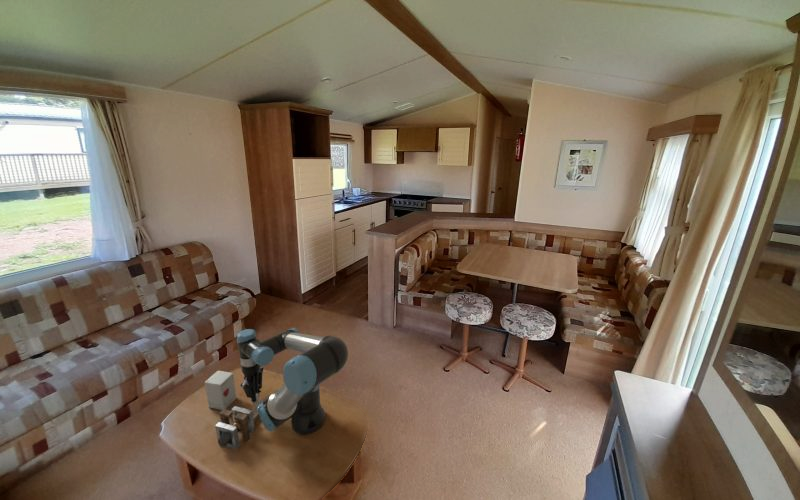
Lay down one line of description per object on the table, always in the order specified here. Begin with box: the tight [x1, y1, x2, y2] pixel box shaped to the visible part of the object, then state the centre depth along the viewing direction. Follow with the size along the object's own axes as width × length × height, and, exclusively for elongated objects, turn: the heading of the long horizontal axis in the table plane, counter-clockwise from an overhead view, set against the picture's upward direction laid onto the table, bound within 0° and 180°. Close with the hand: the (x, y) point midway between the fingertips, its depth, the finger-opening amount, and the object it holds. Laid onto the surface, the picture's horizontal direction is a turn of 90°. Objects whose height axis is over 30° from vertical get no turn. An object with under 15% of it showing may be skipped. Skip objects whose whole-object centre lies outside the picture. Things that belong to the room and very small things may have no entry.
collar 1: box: [214, 421, 241, 451], centre depth 133 cm, size 9×2×10 cm, turn 75°
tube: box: [217, 413, 253, 448], centre depth 137 cm, size 16×4×4 cm, turn 165°
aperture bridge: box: [219, 408, 251, 443], centre depth 137 cm, size 12×2×12 cm, turn 75°
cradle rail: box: [252, 394, 271, 424], centre depth 152 cm, size 4×15×3 cm, turn 165°
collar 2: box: [230, 405, 256, 434], centre depth 141 cm, size 9×2×10 cm, turn 75°
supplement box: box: [204, 370, 237, 411], centre depth 155 cm, size 9×9×15 cm
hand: (256, 405), depth 149 cm, fingers closed
